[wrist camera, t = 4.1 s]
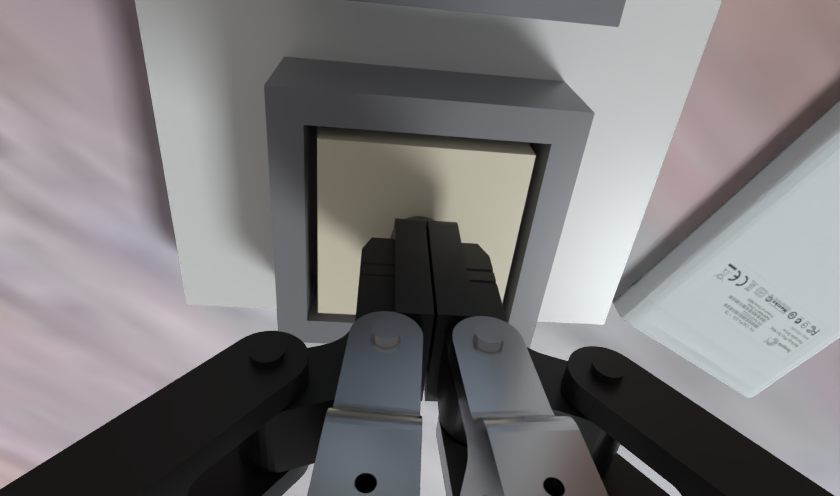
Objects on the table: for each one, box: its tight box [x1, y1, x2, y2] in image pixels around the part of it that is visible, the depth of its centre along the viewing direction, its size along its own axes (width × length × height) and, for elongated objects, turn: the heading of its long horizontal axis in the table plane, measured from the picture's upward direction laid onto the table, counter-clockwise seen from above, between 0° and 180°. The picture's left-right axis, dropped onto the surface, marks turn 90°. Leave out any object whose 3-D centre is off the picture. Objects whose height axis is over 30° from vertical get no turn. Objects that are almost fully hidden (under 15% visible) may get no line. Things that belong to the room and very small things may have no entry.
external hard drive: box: [614, 100, 840, 398], centre depth 19 cm, size 2×8×12 cm
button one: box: [317, 126, 536, 315], centre depth 15 cm, size 5×5×3 cm
